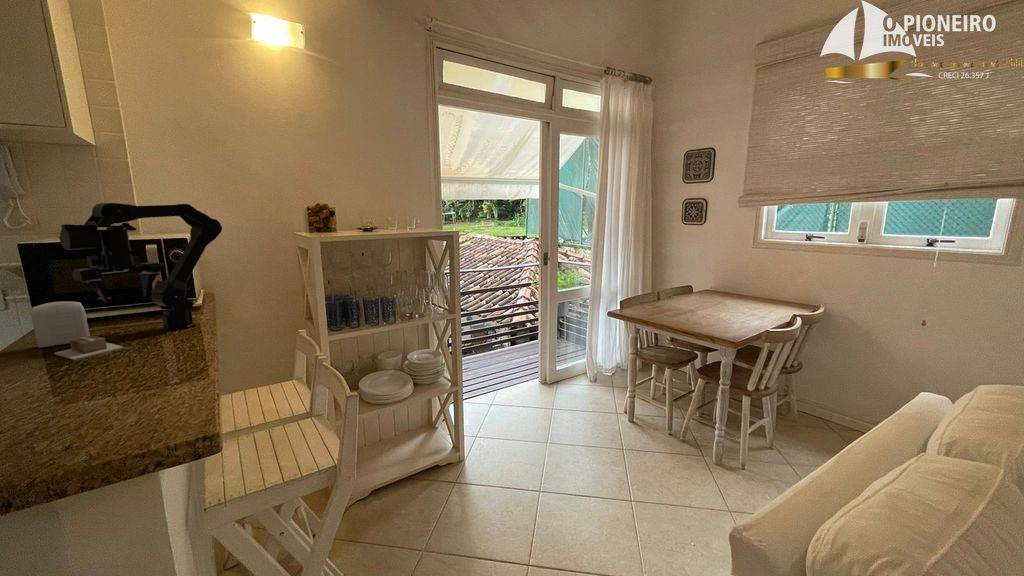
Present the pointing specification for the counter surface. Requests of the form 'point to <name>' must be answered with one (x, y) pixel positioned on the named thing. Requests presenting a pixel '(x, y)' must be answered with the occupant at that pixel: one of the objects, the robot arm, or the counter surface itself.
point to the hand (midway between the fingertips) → (126, 299)
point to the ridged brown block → (88, 344)
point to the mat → (77, 355)
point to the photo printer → (59, 323)
